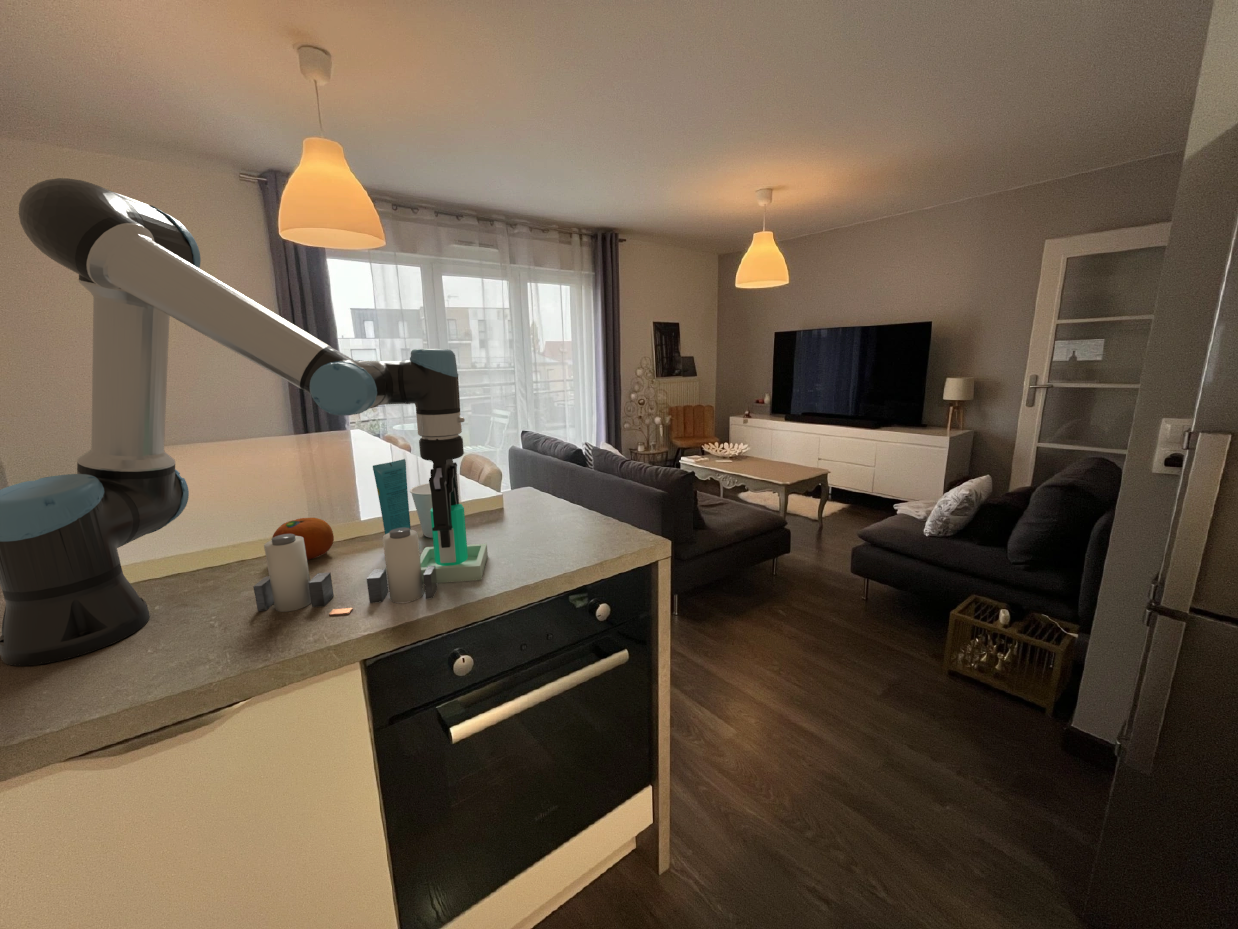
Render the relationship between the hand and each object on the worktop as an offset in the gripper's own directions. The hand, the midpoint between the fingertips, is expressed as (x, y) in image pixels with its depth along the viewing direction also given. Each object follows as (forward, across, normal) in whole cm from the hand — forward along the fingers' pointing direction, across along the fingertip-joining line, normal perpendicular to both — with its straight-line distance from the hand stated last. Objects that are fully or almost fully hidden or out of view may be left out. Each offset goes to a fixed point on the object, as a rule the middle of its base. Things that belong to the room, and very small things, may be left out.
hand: (451, 555), depth 95 cm
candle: (+1, 0, 0) cm, 1 cm away
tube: (+3, +12, +13) cm, 18 cm away
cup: (+3, +21, +7) cm, 22 cm away
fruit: (+3, +11, +31) cm, 33 cm away
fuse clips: (+3, -11, +15) cm, 19 cm away
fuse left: (+3, -10, +24) cm, 26 cm away
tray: (+3, 0, 0) cm, 3 cm away
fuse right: (+3, -10, +6) cm, 12 cm away
